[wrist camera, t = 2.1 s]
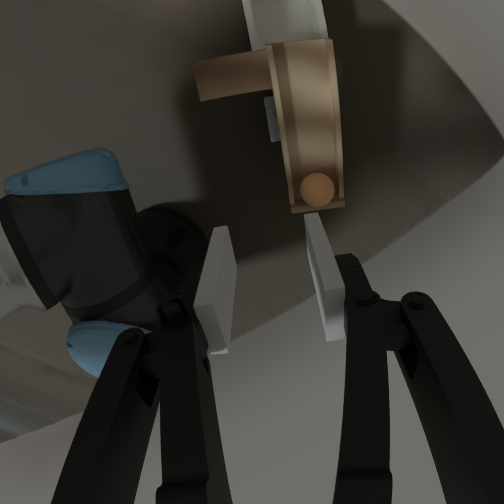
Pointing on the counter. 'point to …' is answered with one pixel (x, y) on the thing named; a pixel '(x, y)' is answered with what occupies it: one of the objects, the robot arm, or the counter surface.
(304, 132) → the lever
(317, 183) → the ball
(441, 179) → the counter surface
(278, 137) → the fulcrum
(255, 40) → the grey open bin
